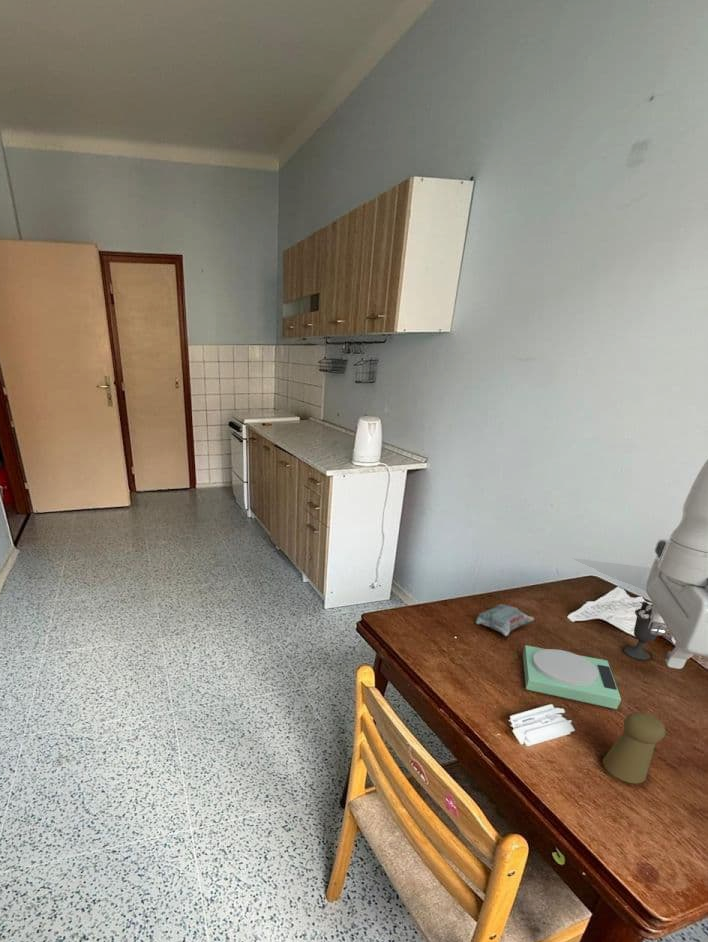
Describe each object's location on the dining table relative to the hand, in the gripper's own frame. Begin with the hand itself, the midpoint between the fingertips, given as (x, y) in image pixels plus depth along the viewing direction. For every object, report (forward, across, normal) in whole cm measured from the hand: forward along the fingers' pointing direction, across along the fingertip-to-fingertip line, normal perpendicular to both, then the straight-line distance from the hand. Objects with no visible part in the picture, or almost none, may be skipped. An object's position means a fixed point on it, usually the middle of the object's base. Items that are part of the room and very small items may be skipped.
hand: (663, 648), depth 71 cm
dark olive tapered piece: (+23, -2, -1) cm, 23 cm away
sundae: (+23, +39, -11) cm, 47 cm away
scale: (+23, +22, +5) cm, 32 cm away
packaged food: (+23, +40, +17) cm, 49 cm away
